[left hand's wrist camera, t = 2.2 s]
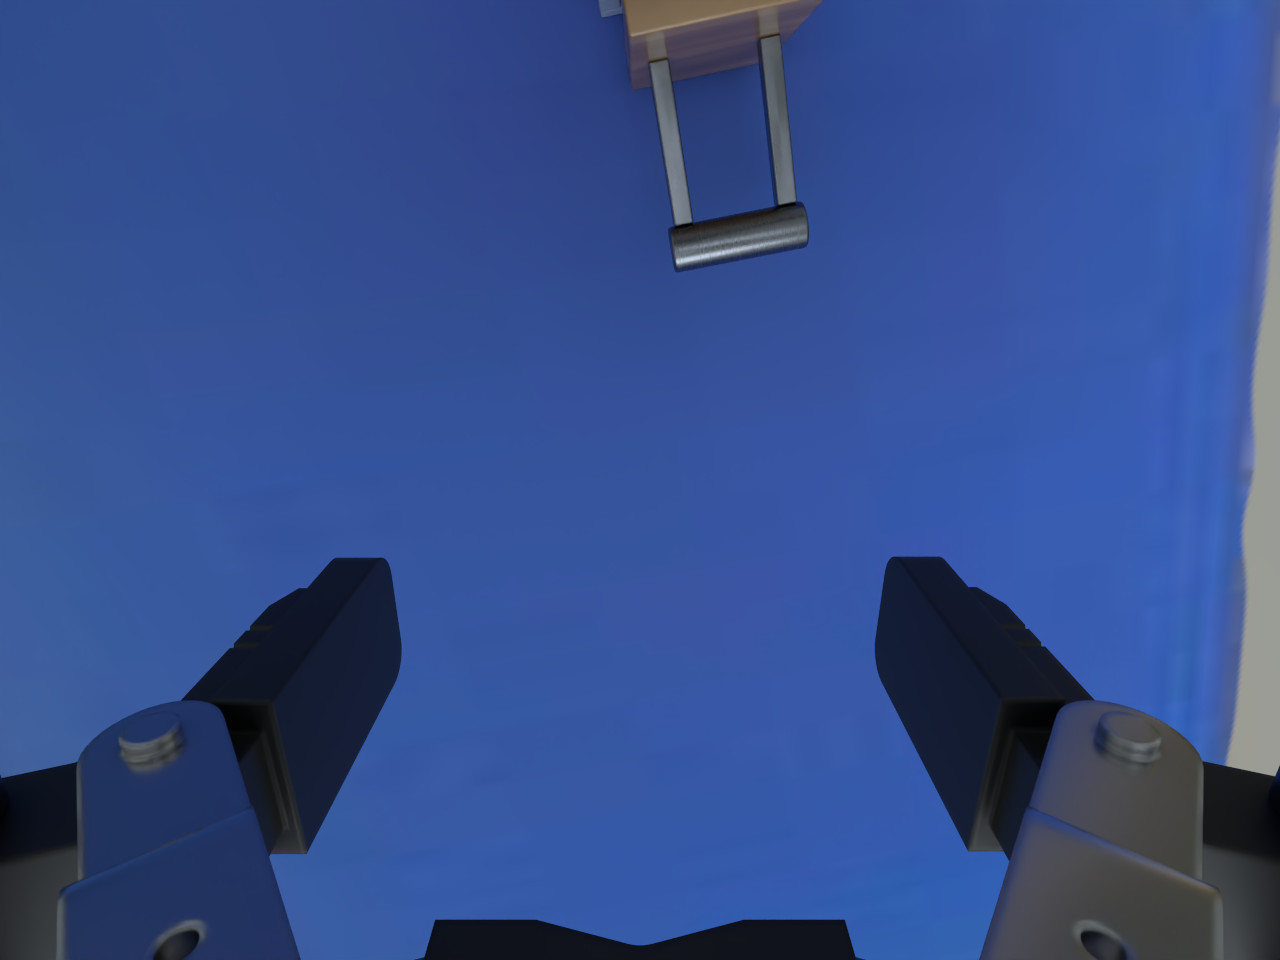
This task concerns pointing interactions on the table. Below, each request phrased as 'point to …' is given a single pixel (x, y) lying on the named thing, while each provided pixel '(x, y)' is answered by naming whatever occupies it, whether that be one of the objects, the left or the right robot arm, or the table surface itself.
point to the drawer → (704, 44)
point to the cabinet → (610, 7)
